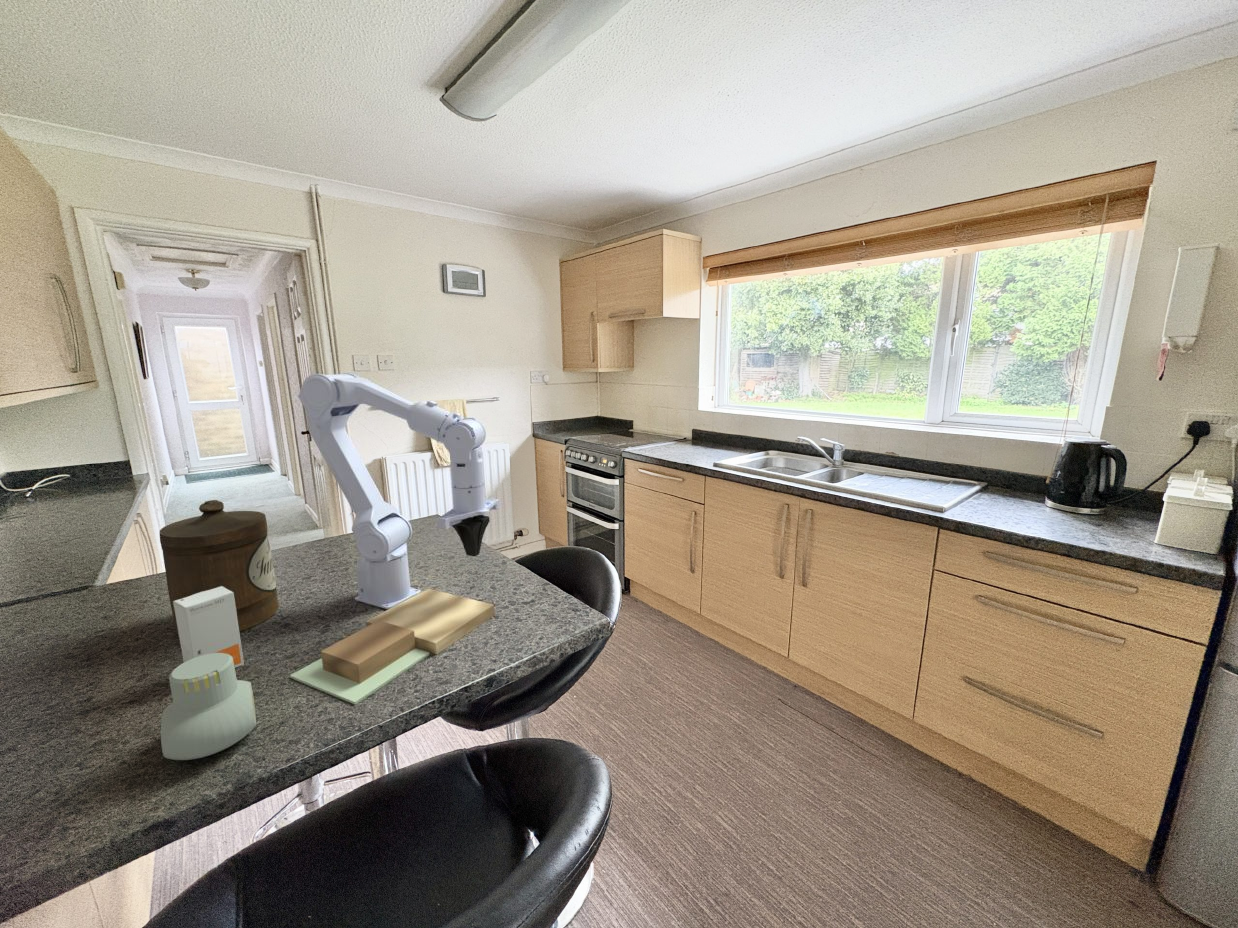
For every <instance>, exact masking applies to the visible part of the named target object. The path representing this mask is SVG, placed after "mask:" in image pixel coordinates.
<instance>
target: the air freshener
mask: <svg viewBox="0 0 1238 928" xmlns="http://www.w3.org/2000/svg"><path fill="white" fill-rule="evenodd" d="M236 673H237V672H236V668H234V662H233V658H232V656H230V655H228V654H225V653H211V654H206V655H202V656H199V657H196V658H193V659H191V660H188V661H186V662H184V661H183V663H182V662H181V664H179V665H178V666H177V667H175V669H173V670H172V671H171V673H170V674H169V676H168V680H169V686H170V687H169V688H170V690H171V696H172V701H173V702H171V703H170V704H169V705H168V706H166V708H164V710H163V711H162V715H161V721H160V722H161V723H160V742H161V744H160V745H161V750H162V751H161V752H162V755H163V757H164V758H166V759H168V760H173V761H174V760H175V761H189V760H196V759H201V758H205V757H208V756H211V755H215V754H217V753H219V752H222V751H224V750H226V749H228V748H230V747H232V746H233V745H235V744H236V743H238V742H239V741H241V740H242V739H243V738H245V737H246V736H247V735H248V734H250V733H251V731H253V730H254V728H255V727H256V726H257V717H256V716H257V714H256V707H255V700H254V699H255V698H254V692H253V687H252V683H251V682H250V681H248V680H247V681H246V680H241V679H240V680H239V679H238V678H237V675H236Z"/></svg>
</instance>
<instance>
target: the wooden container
mask: <svg viewBox="0 0 1238 928" xmlns="http://www.w3.org/2000/svg"><path fill="white" fill-rule="evenodd" d="M224 508H225V506H224V503H223V502H222V501H220V500H218V499H211V500H207V501H204V502H203V503H201V504H200V505H199V507H198V510H199V511H200V513H202V514H201V515H197V516H193V517H189V518H184V519H181V520H178V521H175V522H171V523H169V524H167V525H165V526H163V527H162V528H161V529H160V530H159V543H160V546H161V551H162V557H163V563H164V570H165V577H166V583H167V584H166V585H167V591H168V596H169V603H170V607H171V608H170V609H171V612H172V613H171V614H172V618H173V624H174V628H175V633H176V634H178V635H177V636H179V633H178V627H177V621H176V615H175V609H174V604H173V601H175V600H179V599H182V598H185V597H188V596H191V595H194V594H196V593H200V592H203V591H208V590H211V589H214V588H217V587H221V586H223V587H224V588H226V589H228V590H230V591H232V592H233V593H234V599H235V606H236V613H237V620H238V626H239V633H240V632H242V631H245V630H248V629H250V628H252V627H256V626H257V625H259V624H261V623H264V622H265V621H267V620H269V619H270V618H271V617H272V616H274V615H275V614H276V613H277V611H278V609H279V598H278V591H277V583H276V576H275V568H274V563H273V562H274V561H273V557H272V551H271V546H270V540H269V539H270V538H269V533H268V532H269V531H268V523H267V517H266V514H265V513H264V512H261V511H256V510H254V511H253V510H232V511H225V510H224Z"/></svg>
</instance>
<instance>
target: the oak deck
mask: <svg viewBox="0 0 1238 928" xmlns="http://www.w3.org/2000/svg"><path fill="white" fill-rule="evenodd" d="M495 614H496V613H495V605H494V604H491V603H488V602H484V601H480V600H476V599H473V598H468V597H464V596H460V595H455V594H453V593H448V592H443V591H441V590H436V589H431V588H427V589H426V590H423V591H421V593H419V594H417V595H415V596H414V597H412V598H410V599H408V600H406V601H404V602H402V603H400V604H398V605H396V606H394V607H392V608H390V609H386V610H385V611H383V612H381V613H378V614H377V615H375V616H373V617H372V618H370V619H368V620H366V621H365V627H367V626H369V625H371V624H373V623H375V622H376V621H378V620H379V621H383V622H386V623H389V624H393V625H396V626H399V627H403V628H406V629H410V630H413V631H414V635H415V646H416V648H417V649H420V650H423V651H426V652H429V654H434V655H436V656H437V655H439V654H440V653H441V652H443V651H445V650H446V649H447V648H449V647H450V646H451V645H453V644H455V643H456V642H458V641H459V640H460V639H462V638H463V637H465V636H466V635H467V634H469V633H471V632H473V630H475V629H477V628H478V627H479V626H481V625H482V624H483V623H486V621H488V620H490V619H491V618H493V617H494V616H495Z"/></svg>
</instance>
